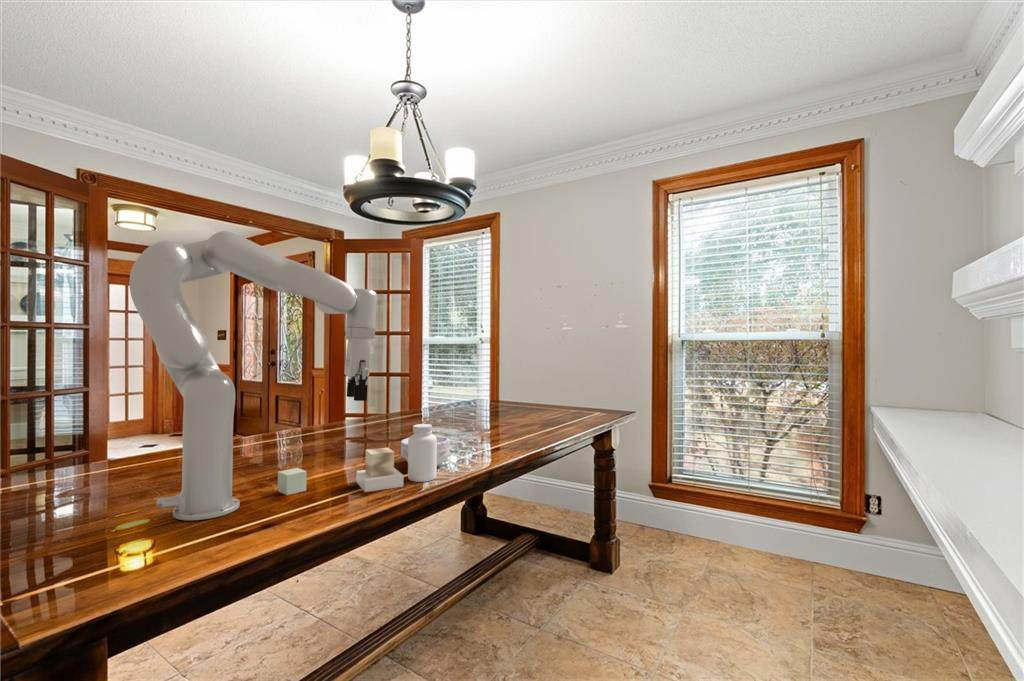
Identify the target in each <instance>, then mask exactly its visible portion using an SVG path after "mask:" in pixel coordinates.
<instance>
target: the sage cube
mask: <svg viewBox="0 0 1024 681" xmlns="http://www.w3.org/2000/svg"><path fill="white" fill-rule="evenodd" d="M307 475H308V474H307V470H304V469H302V468H299V467H295V468H289V469H285V470H279V471H277V492H279V493H281V494H283V495H286V496H288V495H292V494H293V495H294V494H298V493H300V492H301V493H302V492H306V491H307V483H308V482H307V481H308V480H307Z"/></svg>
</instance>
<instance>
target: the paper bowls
mask: <svg viewBox="0 0 1024 681" xmlns="http://www.w3.org/2000/svg"><path fill="white" fill-rule="evenodd" d="M435 436H436V439H437V467H438V466H440V465H441V464H443V461H444V460H445V458H447V457H449V456H450V448H451V447H450V445H451V441H450V438H448V437H446V436H442V435H441V436H439V435H435ZM408 440H409V437H406V438H404V439H402V440H401V441H400V457H401V458H403V459H406V462H407V463H408Z"/></svg>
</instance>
